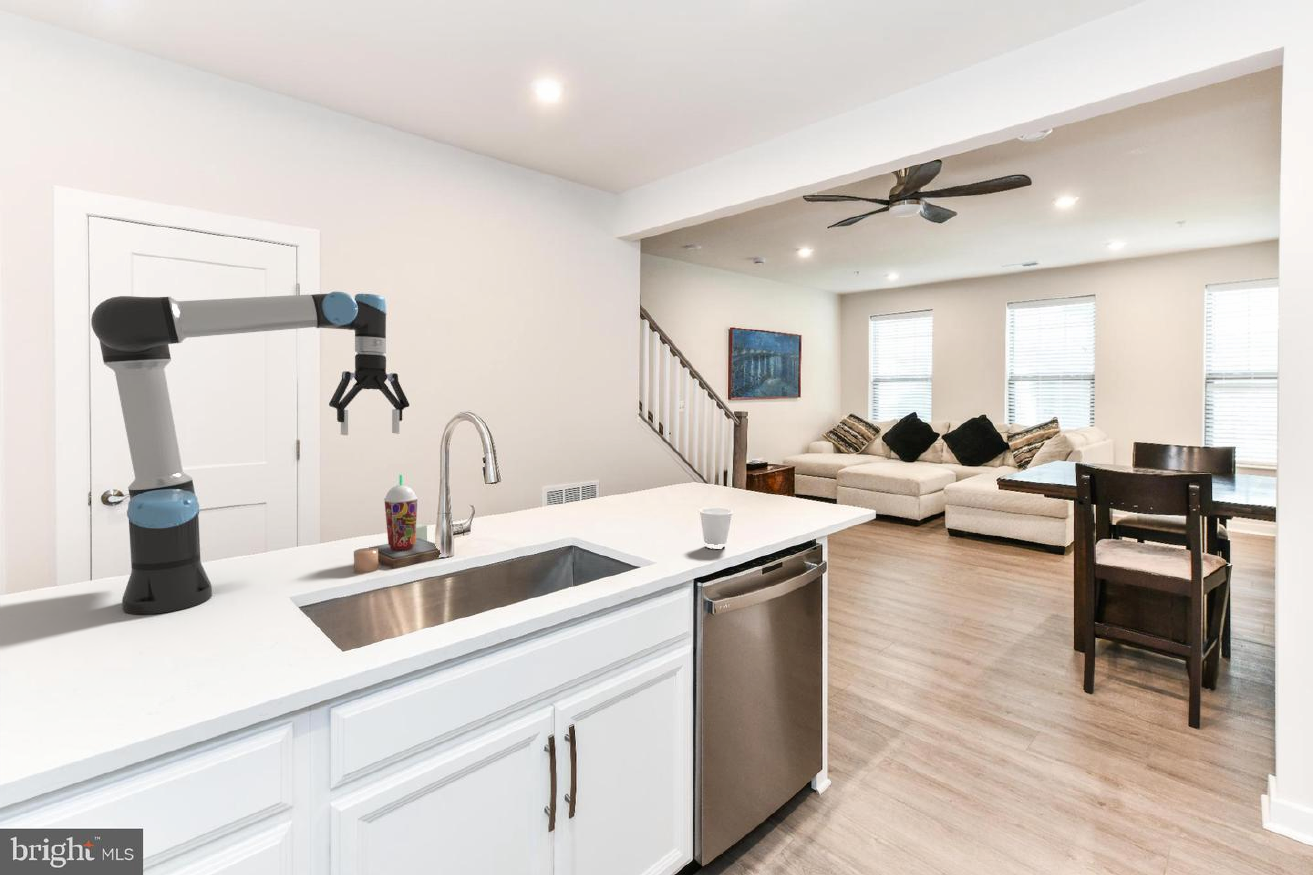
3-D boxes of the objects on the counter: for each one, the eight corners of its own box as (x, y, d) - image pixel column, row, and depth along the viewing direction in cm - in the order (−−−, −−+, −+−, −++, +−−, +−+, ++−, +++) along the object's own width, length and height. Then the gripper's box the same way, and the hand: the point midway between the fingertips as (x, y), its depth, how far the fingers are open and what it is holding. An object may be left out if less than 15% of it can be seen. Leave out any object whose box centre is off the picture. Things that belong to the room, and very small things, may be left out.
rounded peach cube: (360, 574, 156) (359, 555, 155) (350, 570, 159) (349, 550, 159) (382, 569, 160) (382, 550, 160) (372, 565, 164) (371, 546, 163)
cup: (692, 544, 189) (693, 508, 188) (720, 541, 193) (721, 506, 192) (708, 553, 180) (709, 515, 179) (738, 550, 184) (739, 512, 184)
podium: (393, 568, 161) (393, 558, 161) (364, 556, 171) (364, 547, 171) (449, 556, 173) (449, 547, 173) (419, 545, 183) (419, 536, 183)
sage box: (414, 545, 184) (413, 528, 184) (401, 543, 186) (401, 526, 186) (427, 541, 188) (426, 525, 188) (414, 539, 191) (414, 523, 190)
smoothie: (410, 552, 166) (409, 477, 165) (379, 551, 167) (377, 477, 165) (423, 544, 175) (422, 473, 173) (394, 543, 175) (392, 472, 173)
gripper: (326, 350, 155) (327, 436, 157) (422, 356, 174) (421, 433, 175) (314, 351, 160) (315, 434, 162) (409, 357, 179) (409, 431, 180)
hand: (370, 434), depth 168 cm, fingers open, 13 cm apart
